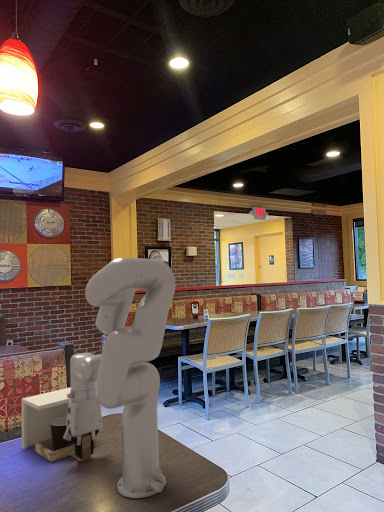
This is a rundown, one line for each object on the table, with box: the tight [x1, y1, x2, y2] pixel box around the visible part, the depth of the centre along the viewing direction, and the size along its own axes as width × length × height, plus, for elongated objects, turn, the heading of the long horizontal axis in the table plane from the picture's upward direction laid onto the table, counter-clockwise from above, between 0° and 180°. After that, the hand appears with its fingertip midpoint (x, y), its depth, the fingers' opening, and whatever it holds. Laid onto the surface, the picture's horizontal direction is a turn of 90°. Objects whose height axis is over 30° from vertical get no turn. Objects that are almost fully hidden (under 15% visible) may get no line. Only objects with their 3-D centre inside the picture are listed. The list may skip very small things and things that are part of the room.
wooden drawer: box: [34, 433, 96, 463], centre depth 121 cm, size 20×15×7 cm
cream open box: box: [21, 386, 71, 450], centre depth 128 cm, size 14×18×16 cm
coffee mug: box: [50, 416, 74, 451], centre depth 122 cm, size 12×9×10 cm
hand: (84, 454), depth 114 cm, fingers closed on wooden drawer, 3 cm apart
